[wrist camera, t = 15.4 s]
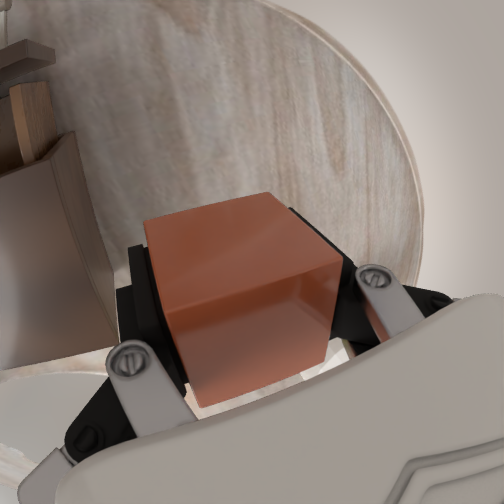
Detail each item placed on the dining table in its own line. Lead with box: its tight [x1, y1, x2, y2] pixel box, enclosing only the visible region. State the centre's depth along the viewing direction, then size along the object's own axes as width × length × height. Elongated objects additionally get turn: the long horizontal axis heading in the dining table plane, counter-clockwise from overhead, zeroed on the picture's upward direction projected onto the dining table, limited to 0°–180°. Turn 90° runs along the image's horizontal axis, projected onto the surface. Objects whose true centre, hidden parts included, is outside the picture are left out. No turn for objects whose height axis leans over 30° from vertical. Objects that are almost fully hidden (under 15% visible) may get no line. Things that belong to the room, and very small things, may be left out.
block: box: [143, 192, 343, 408], centre depth 10 cm, size 4×4×4 cm
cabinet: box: [0, 131, 119, 371], centre depth 19 cm, size 15×13×10 cm
